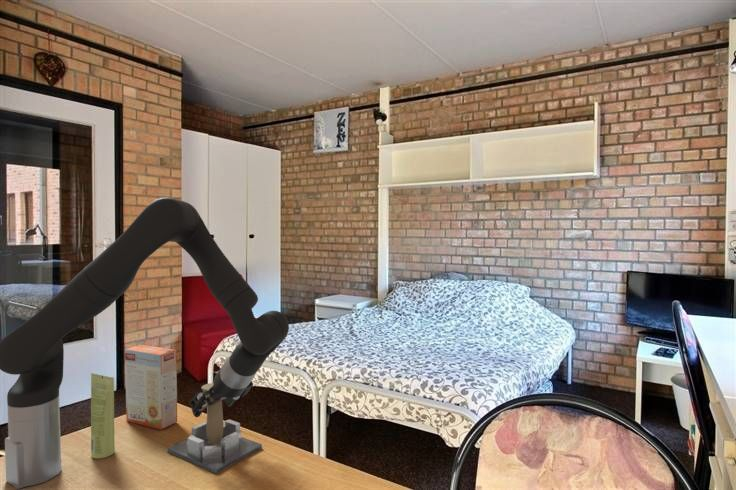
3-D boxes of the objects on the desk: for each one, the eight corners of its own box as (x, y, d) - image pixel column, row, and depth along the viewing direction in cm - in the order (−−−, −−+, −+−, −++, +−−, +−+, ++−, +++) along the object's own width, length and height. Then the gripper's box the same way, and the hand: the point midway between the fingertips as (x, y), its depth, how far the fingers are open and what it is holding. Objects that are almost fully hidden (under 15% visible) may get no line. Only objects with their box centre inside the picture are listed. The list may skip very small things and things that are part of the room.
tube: (119, 447, 114) (117, 370, 113) (115, 457, 110) (113, 377, 108) (93, 451, 112) (91, 372, 111) (88, 461, 108) (86, 379, 107)
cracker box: (178, 422, 129) (177, 349, 128) (161, 431, 123) (159, 354, 122) (143, 413, 134) (142, 343, 133) (125, 421, 129) (123, 348, 128)
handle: (220, 453, 110) (220, 391, 109) (197, 449, 111) (197, 388, 111) (232, 443, 114) (231, 384, 114) (210, 440, 116) (209, 382, 115)
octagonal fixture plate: (216, 474, 102) (215, 452, 102) (167, 452, 112) (167, 432, 112) (261, 448, 114) (261, 428, 114) (214, 430, 124) (213, 412, 123)
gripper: (256, 353, 112) (231, 387, 120) (201, 366, 101) (178, 403, 110) (269, 379, 109) (243, 413, 117) (214, 396, 98) (189, 431, 106)
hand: (211, 408), depth 113 cm, fingers open, 8 cm apart
